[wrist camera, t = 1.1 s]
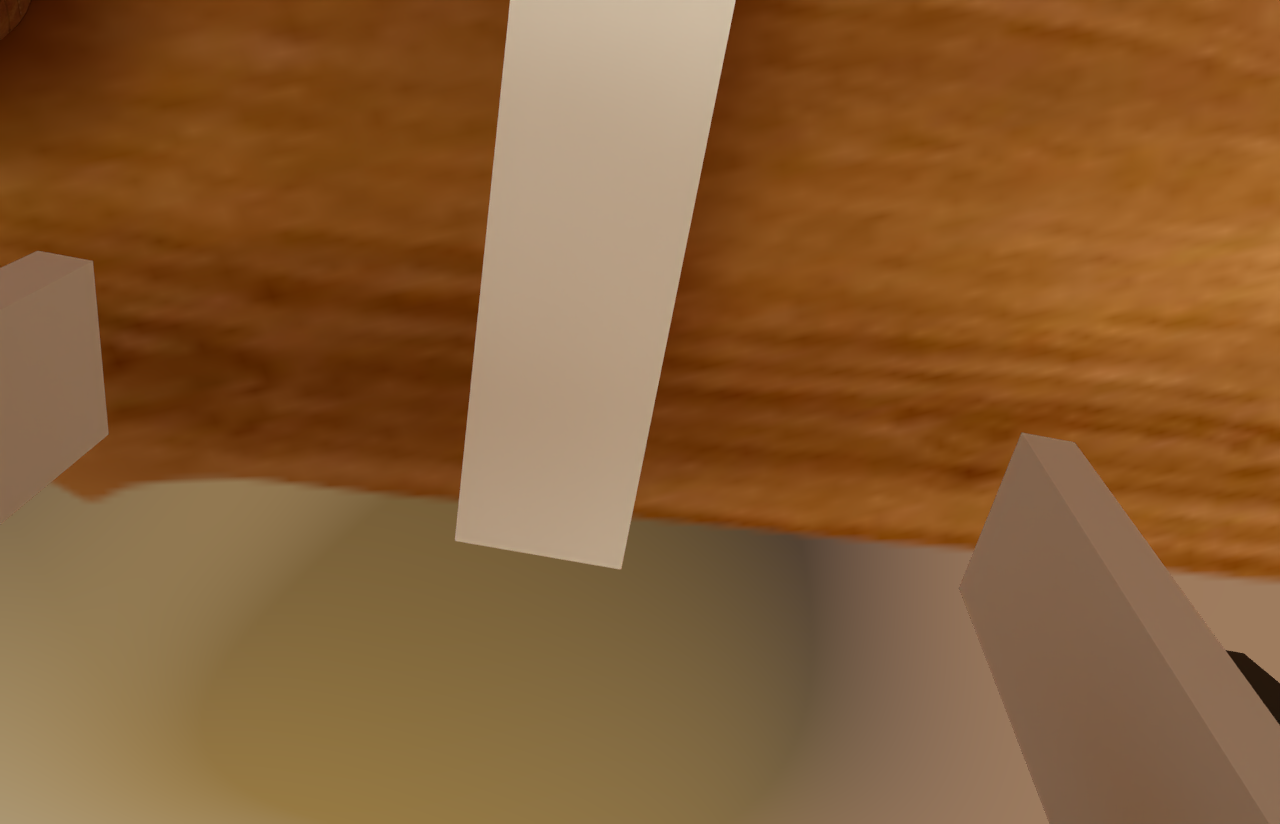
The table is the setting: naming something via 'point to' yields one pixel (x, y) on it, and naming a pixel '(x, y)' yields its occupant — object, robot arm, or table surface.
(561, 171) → the white block
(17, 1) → the disposable coffee cup
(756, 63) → the table surface
